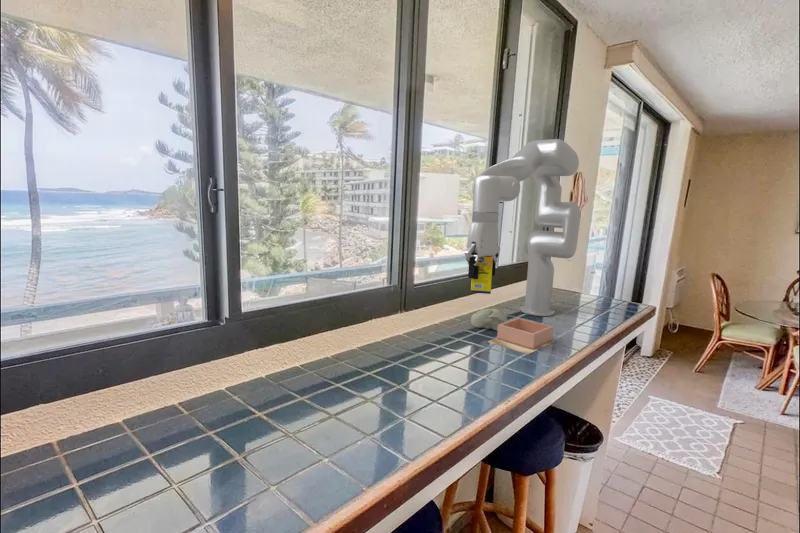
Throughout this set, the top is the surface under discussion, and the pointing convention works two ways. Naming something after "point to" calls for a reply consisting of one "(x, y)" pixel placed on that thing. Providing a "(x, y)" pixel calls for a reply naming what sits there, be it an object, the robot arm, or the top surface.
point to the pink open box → (525, 333)
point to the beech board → (515, 346)
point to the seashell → (488, 319)
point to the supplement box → (483, 276)
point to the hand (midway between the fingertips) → (481, 276)
